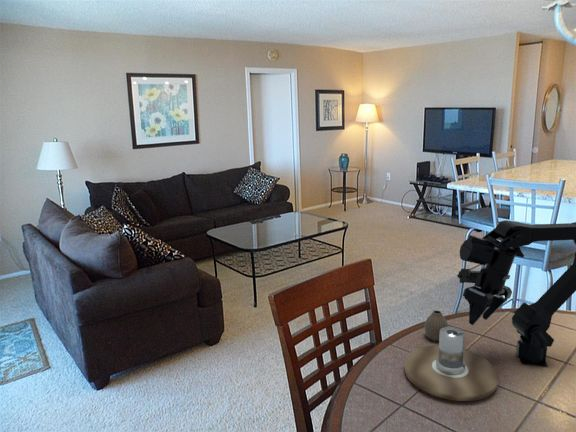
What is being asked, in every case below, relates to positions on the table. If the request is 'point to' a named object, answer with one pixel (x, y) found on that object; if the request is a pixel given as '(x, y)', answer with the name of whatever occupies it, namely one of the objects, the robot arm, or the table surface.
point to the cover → (451, 351)
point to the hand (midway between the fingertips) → (478, 321)
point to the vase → (435, 325)
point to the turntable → (463, 387)
